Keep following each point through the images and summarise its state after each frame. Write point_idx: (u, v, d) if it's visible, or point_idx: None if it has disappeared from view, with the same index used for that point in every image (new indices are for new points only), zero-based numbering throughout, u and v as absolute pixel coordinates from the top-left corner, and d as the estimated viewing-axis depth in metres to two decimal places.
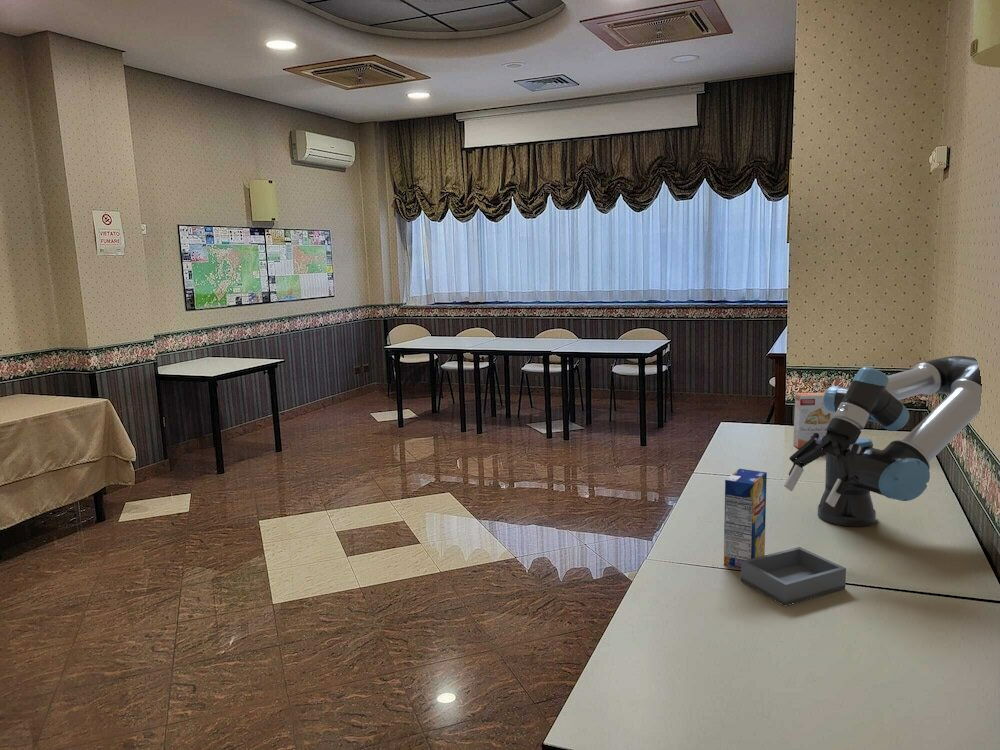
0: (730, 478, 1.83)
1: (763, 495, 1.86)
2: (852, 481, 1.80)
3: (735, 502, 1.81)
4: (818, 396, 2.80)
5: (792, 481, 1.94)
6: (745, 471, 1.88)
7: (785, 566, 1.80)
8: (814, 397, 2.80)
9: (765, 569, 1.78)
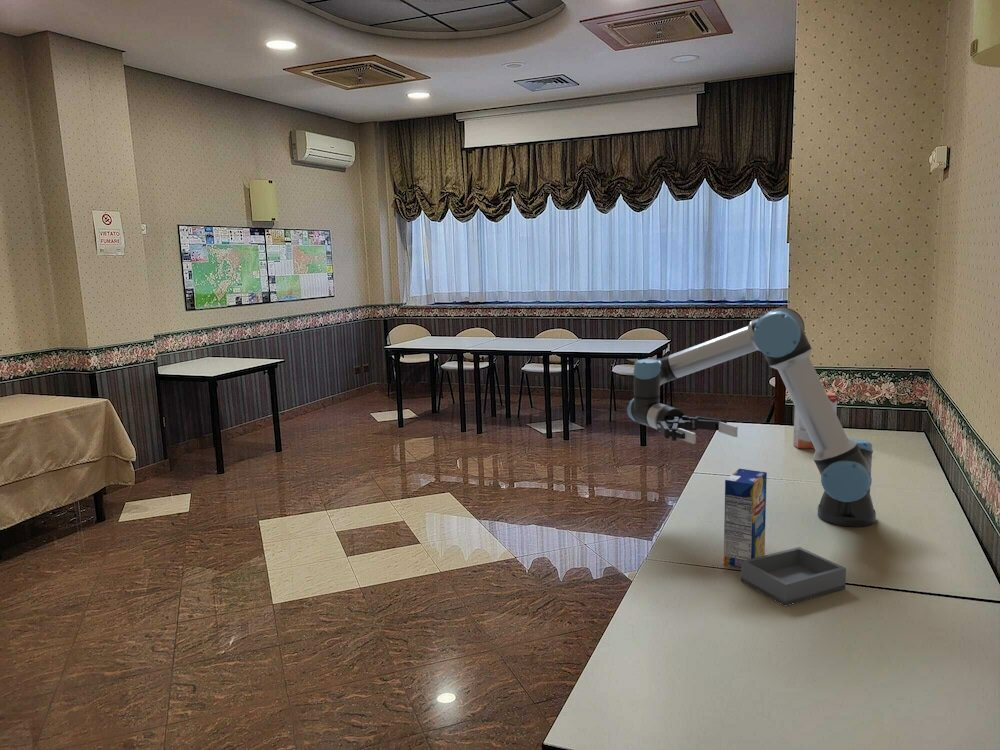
0: (730, 478, 1.83)
1: (763, 495, 1.86)
2: (668, 434, 1.96)
3: (735, 502, 1.81)
4: None
5: (729, 431, 1.98)
6: (745, 471, 1.88)
7: (785, 566, 1.80)
8: None
9: (765, 569, 1.78)
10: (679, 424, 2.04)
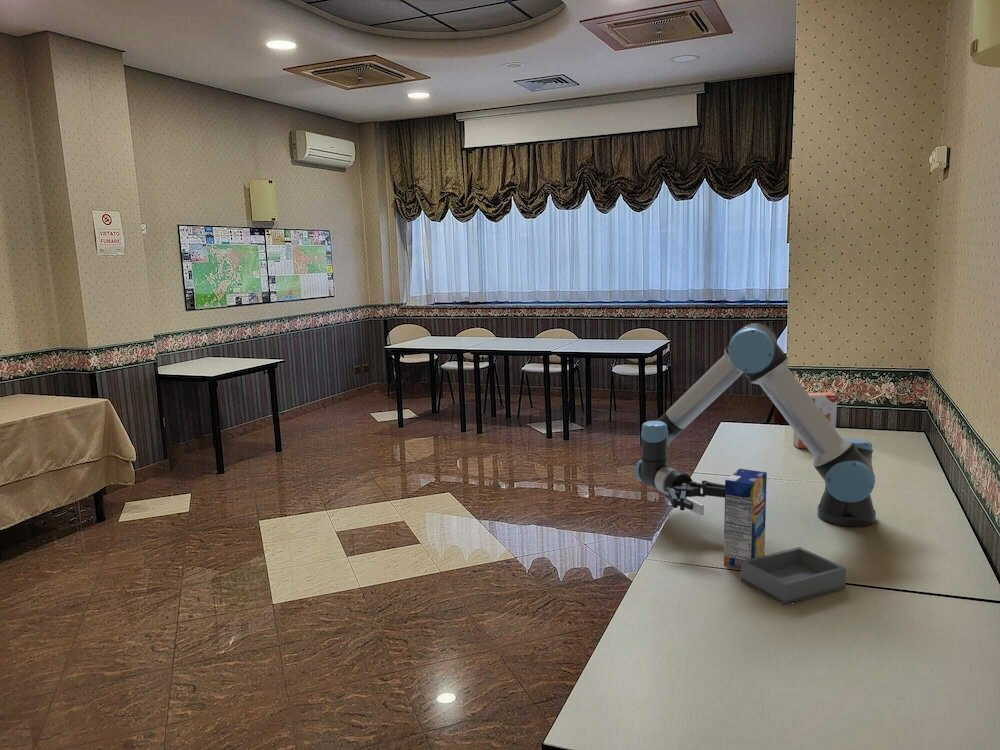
0: (730, 478, 1.83)
1: (763, 495, 1.86)
2: (676, 504, 1.96)
3: (735, 502, 1.81)
4: (818, 396, 2.80)
5: None
6: (745, 471, 1.88)
7: (785, 566, 1.80)
8: (814, 397, 2.80)
9: (765, 569, 1.78)
10: (687, 491, 2.03)
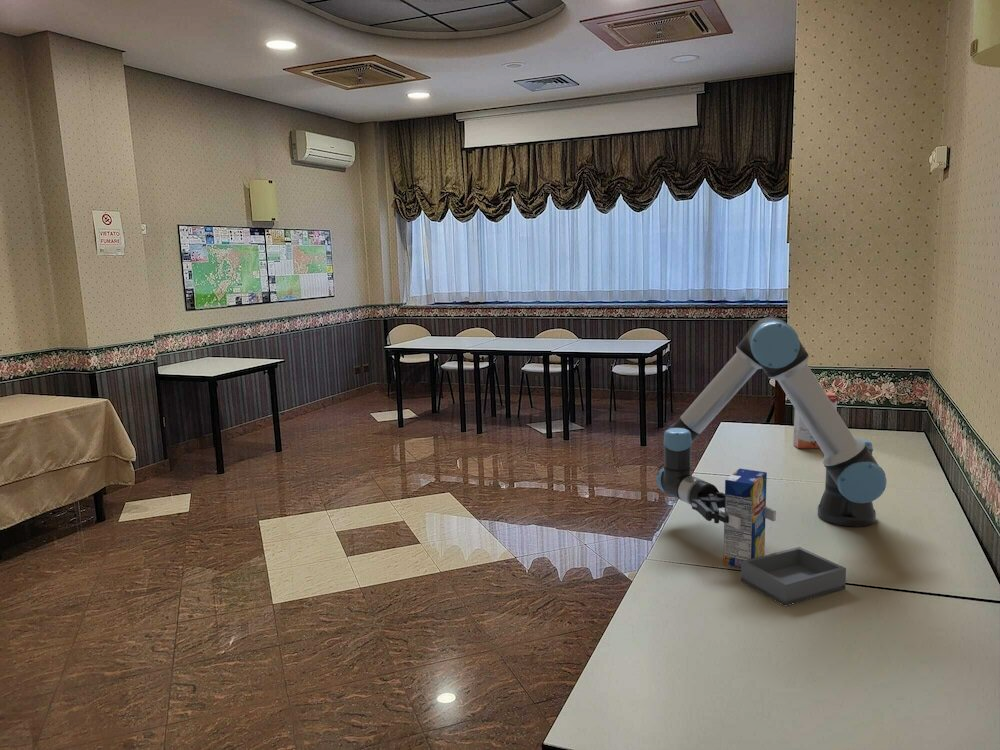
0: (730, 478, 1.83)
1: (763, 495, 1.86)
2: (710, 516, 1.86)
3: (735, 502, 1.81)
4: None
5: (766, 514, 1.86)
6: (745, 470, 1.88)
7: (785, 566, 1.80)
8: None
9: (765, 569, 1.78)
10: (716, 502, 1.93)
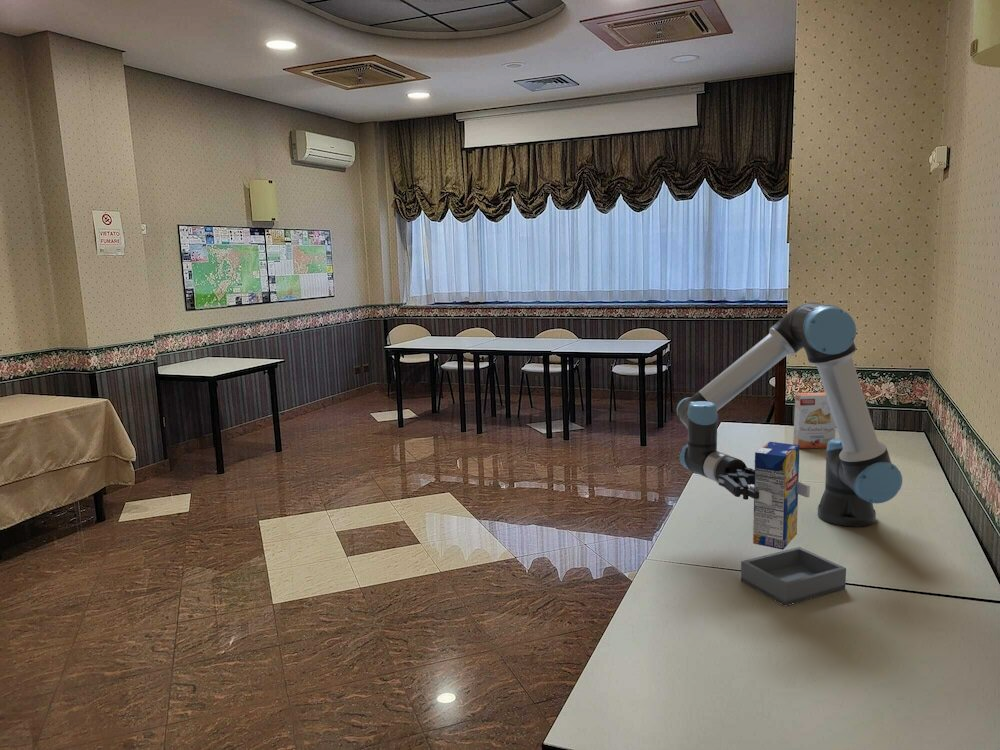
0: (760, 450, 1.71)
1: (796, 469, 1.73)
2: (739, 492, 1.73)
3: (766, 476, 1.69)
4: (818, 396, 2.80)
5: (799, 490, 1.74)
6: (777, 443, 1.76)
7: (785, 566, 1.80)
8: (814, 397, 2.80)
9: (765, 569, 1.78)
10: (744, 478, 1.81)
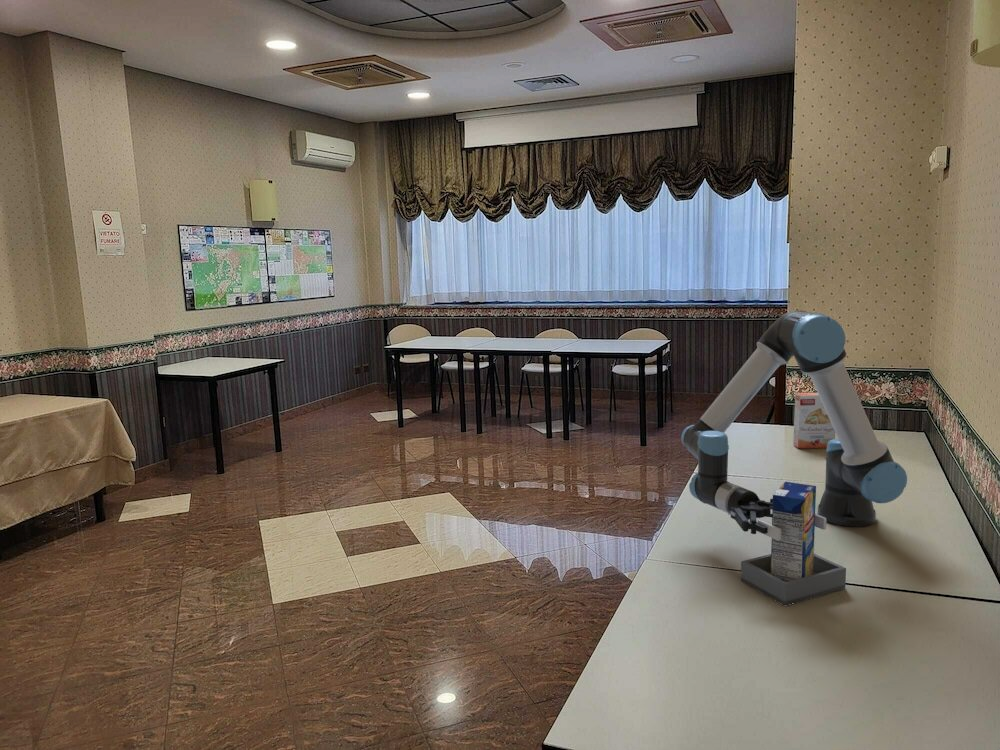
0: (778, 492, 1.69)
1: (813, 511, 1.71)
2: (747, 527, 1.72)
3: (784, 519, 1.67)
4: (818, 396, 2.80)
5: (816, 522, 1.73)
6: (793, 484, 1.74)
7: None
8: (814, 397, 2.80)
9: (765, 569, 1.78)
10: (756, 512, 1.79)
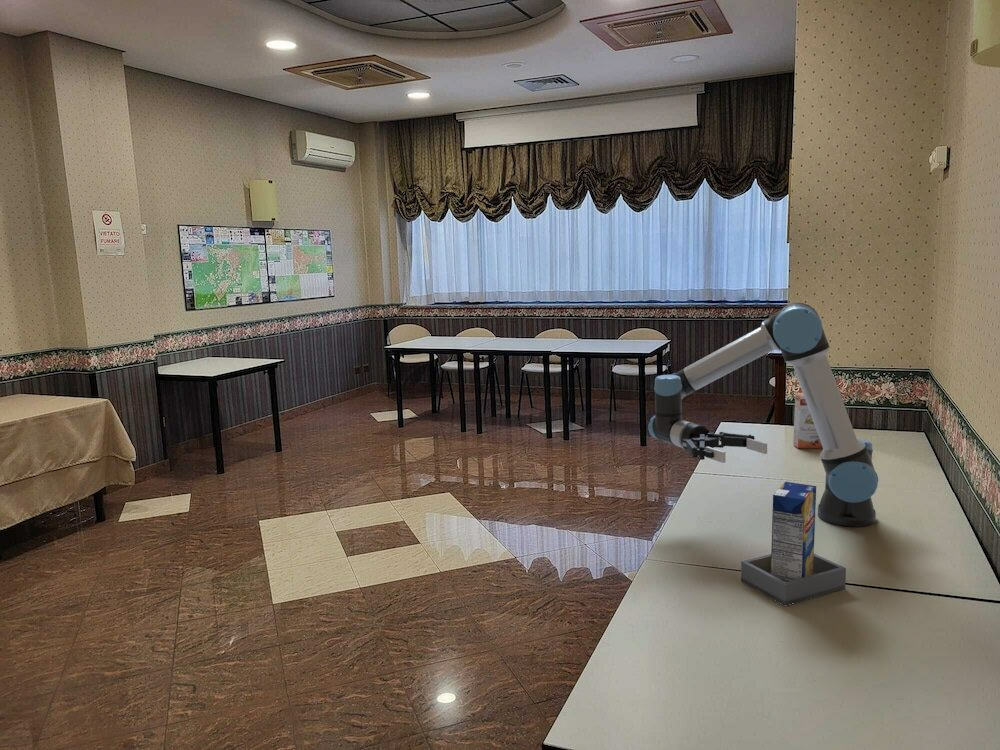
0: (778, 492, 1.69)
1: (813, 511, 1.71)
2: (696, 453, 1.89)
3: (784, 519, 1.67)
4: None
5: (758, 447, 1.91)
6: (793, 484, 1.74)
7: None
8: None
9: (765, 569, 1.78)
10: (705, 442, 1.97)
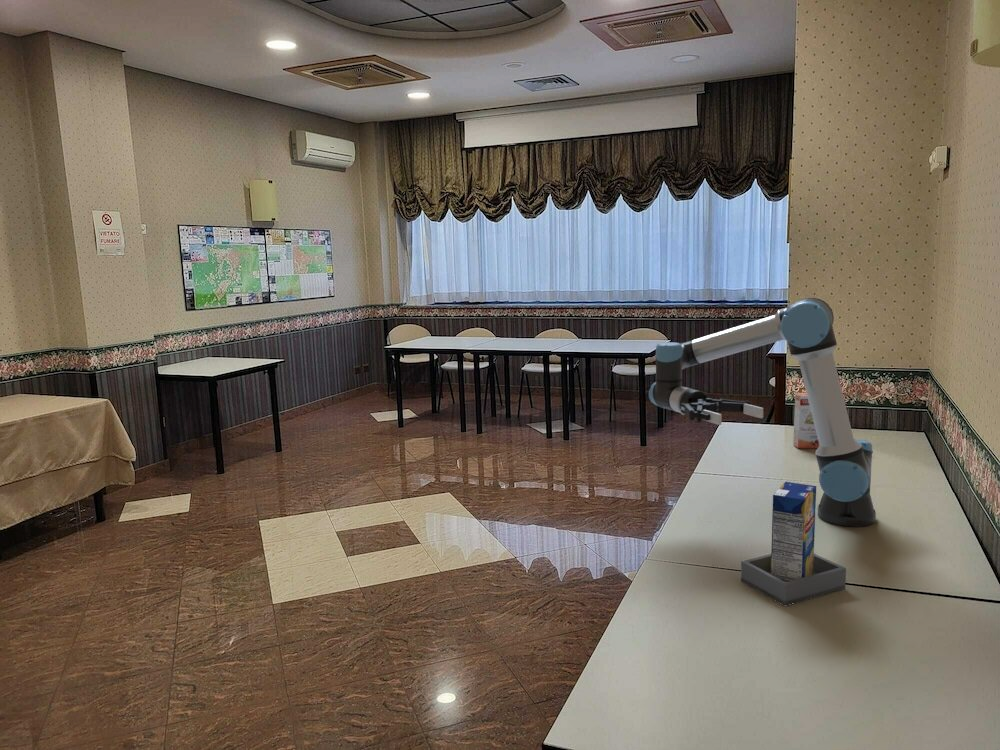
0: (778, 492, 1.69)
1: (813, 511, 1.71)
2: (693, 416, 1.94)
3: (784, 519, 1.67)
4: None
5: (755, 412, 1.96)
6: (793, 484, 1.74)
7: None
8: None
9: (765, 569, 1.78)
10: (703, 406, 2.01)
